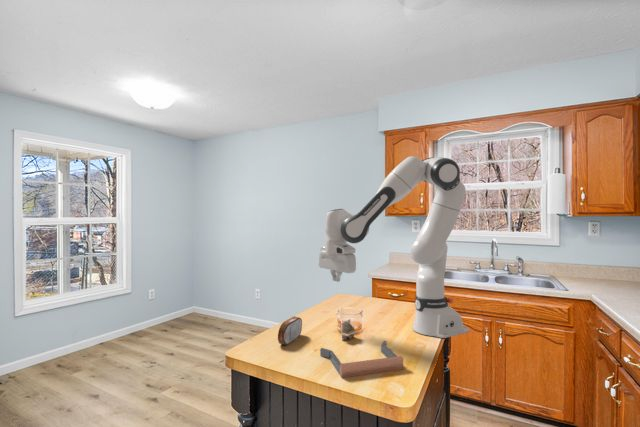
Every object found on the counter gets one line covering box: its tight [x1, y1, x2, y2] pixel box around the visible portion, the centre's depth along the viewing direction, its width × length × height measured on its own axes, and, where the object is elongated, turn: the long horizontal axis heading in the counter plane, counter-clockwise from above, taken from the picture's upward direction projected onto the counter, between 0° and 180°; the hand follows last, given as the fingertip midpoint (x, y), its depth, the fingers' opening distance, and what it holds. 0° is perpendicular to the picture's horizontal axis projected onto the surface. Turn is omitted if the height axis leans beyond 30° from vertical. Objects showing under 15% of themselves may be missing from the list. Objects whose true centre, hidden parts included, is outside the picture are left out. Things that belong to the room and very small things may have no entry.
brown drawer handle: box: [319, 340, 404, 379], centre depth 108 cm, size 25×17×4 cm
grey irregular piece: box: [340, 319, 358, 341], centre depth 126 cm, size 3×7×7 cm, turn 141°
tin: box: [277, 315, 303, 346], centre depth 126 cm, size 15×3×8 cm, turn 155°
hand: (336, 281), depth 135 cm, fingers closed
